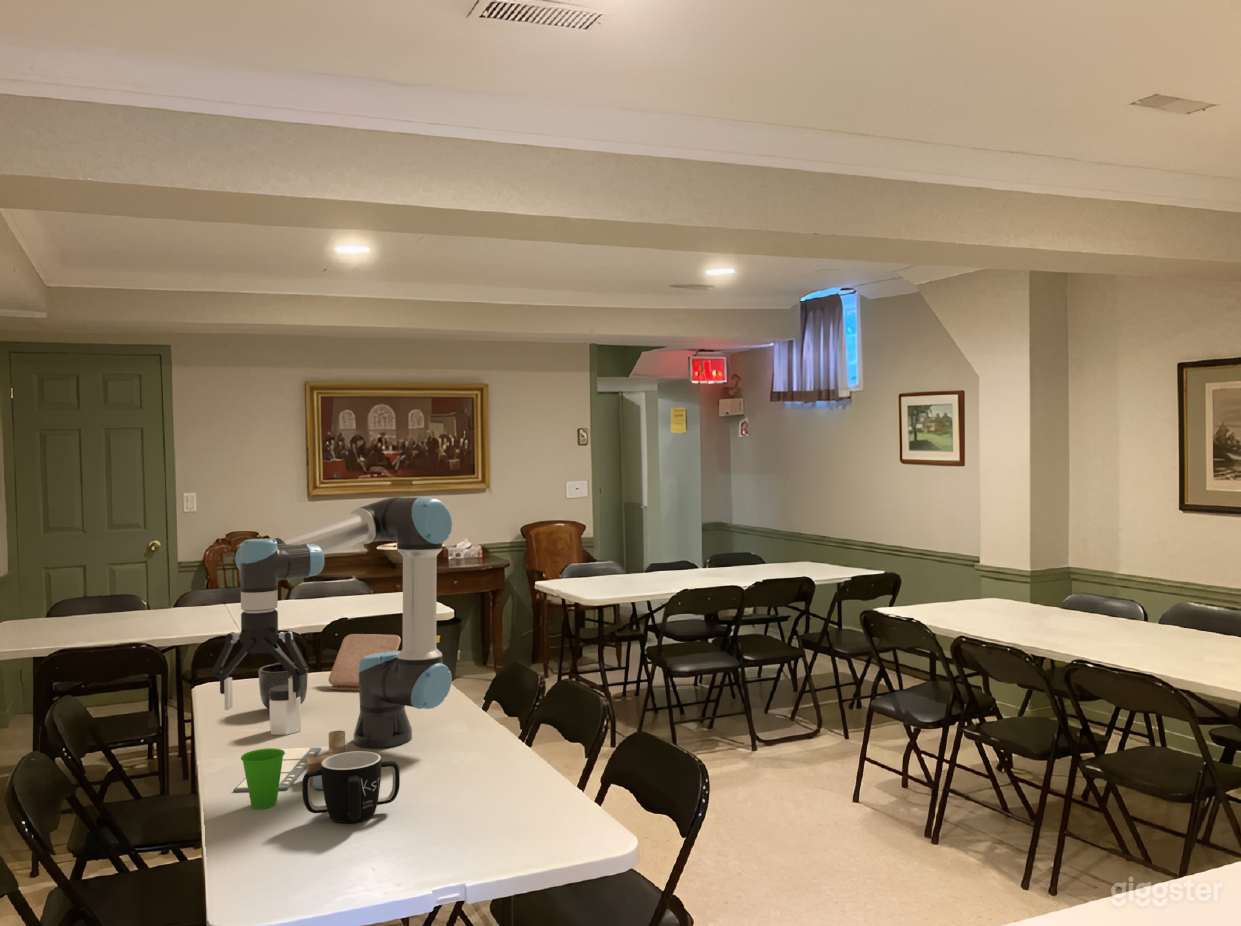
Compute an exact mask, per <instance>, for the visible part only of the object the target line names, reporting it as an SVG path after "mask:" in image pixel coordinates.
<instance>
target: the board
mask: <svg viewBox="0 0 1241 926" xmlns="http://www.w3.org/2000/svg"><path fill="white" fill-rule="evenodd" d="M280 749H281V750H283V751H284V752H285V755H283V760H282V768H281V775H280V782H279V789H278V791H288V790H289V789H290V788H291V786H292V785H293V784H294V783H295V782H296V781H297V780H298V778H299V777H300V776H301V775H302V773H303V772H304V771H305V770H307V765H306V758H310V757H318V755H319V753H320V752H321V751H322V747H297V748H296V747H295V748H294V747H293V748H291V747H290V748H280ZM233 792H234V793H245V792H246V793H247V792H248V793H249V791H248V786H247V780H246V777H245V778H244V779H243V780H241V782H239V784H238V785H236V786H235V788H234V789H233Z"/></svg>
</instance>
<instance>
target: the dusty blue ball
mask: <svg viewBox="0 0 1241 926" xmlns="http://www.w3.org/2000/svg"><path fill="white" fill-rule="evenodd" d="M312 786H314V788H316V789H317V790H323V787H322V776H316V777H314V778H313V785H312Z"/></svg>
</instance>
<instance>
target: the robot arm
mask: <svg viewBox="0 0 1241 926" xmlns="http://www.w3.org/2000/svg"><path fill="white" fill-rule="evenodd" d="M452 519H453V518H452V514H451V512H450V510H449V508H448V507H447V506H446V505H445V504H444V502H443V501H441V500H439V499H437V498H434V497H433V498H431V497H425V496H422V497H400V496H399V497H398V496H397V497H390V498H385V499H381V500H378V501H375V502H372V503H369V504H366V505H363V506H361V507H357V508H355V509H353V510H352V511H351V512H350V514H348V515H344V516H341V517H338V518H335V519H331V520H330V521H326V522H322V523H319V524H316V525H313V526H309V527H305V528H303V529H300V530H297V531H296V530H295V532H291V533H288V534H284V535H281V536H277V537H275V538H253V539H252V538H251V539H246V540H244V541H243V542H241V545H240V546H239V548H238V549H237V551H236V553H235V559H234V560H235V564H236V567H237V569H238V570H239V571H240V609H241V610H242V611H243V612H241V613H240V620H241V621H240V633H235V632H234V631H231V632H229V633H227V634H226V636H225V639H224V640H225V641H224V646H223V647H222V649H221V651H220V654H219V656H218V657H217V660H216V661H215V663H214V666H213V667H212V670H211V672H210V676H211V677H215V678H216V679H219V693H220V694H221V695H223V696H224V711H229V710H230V709H232V708H233V677H232V676H230V675H231V674H232V673H233V671H234V670H235V669H236V668H237V666H238V665H239V664H240V662H241V661H242V660H243V659H244V658H245V656H246V655H247V654H248V653H250V654H251V655H255V654H264V655H266V654H268V653H269V654H270V655H271V656H273V657H274V658H275V659H276V661H278V662H279V663H281V664H282V666H283V667H284V668H285V669H286V670H287V671H288V672H289V673H290V675H291V677H290V678H289V709H292V708H294V707H295V706H296V692H298V691H299V690H300V676H301V675H304V674H306V673H307V672H309V671H310V668H309V665H307V663H306V660H305V658H304V657H303V655H302V653H301V651H300V649H299V648H298V645H297V644H296V641H295V635H294V632H293V631H292V630H288V631H287V632H279V612H278V611H279V610H277V608H278V604H279V603H278V601H279V598H278V595H279V594H278V591H279V590H278V589H279V588H278V586H279V585H278V583H279V581H283V580H291V579H301V578H306V579H307V578H309V577H316V576H318V575H319V574H320V573H322V571H323V569H324V566H325V555H327V554H329V553H333V552H335V551H338V550H342V549H344V548H347V547H350V546H353V545H356V544H359V543H360V544H362V545H368V544H370V543H375V542H385V541H386V542H387V541H388V542H389V541H390V542H396V551H397V552H398V553H399V554H400V555H401V556H402V649H401V650H397V651H390V652H382V653H376V654H372V655H368V656H365V657H363V658H362V659H361V660H360V663H359V672H358V673H359V691H358V693H359V694H358V695H359V714H358V719H357V721H356V725H355V728H354V732H353V743H354V744H355V745H356V746H357V747H361V748H369V749H373V748H374V749H375V748H376V749H377V748H378V749H379V748H390V747H395V746H396V747H397V746H399V745H402V744H405V743H407V742H409V741H411V739H413V729H412V728H413V727H412V725H411V722H410V720H409V717H408V715H407V712H406V707H410V708H415V709H419V710H423V709H424V710H430V709H434V708H436V707H439V706H440V705H441V704H442V703H443V702H444V701H445V699H446V698H447V696H448V695H449V693H450V690H451V687H452V682H453V681H452V680H453V679H452V678H453V677H452V672H451V670H450V669H449V667H448V666H447V665H445V663H443V653H442V652H441V651H440V649H438V648H437V566H438V565H437V563H438V561H437V556H438V555H439V554H440V553H441V552H442V550H443V546H444V545H443V543H444V542H446V541H448V539H449V537H450V534H451V533H452V530H453V520H452ZM280 639H281V641H282V642H283V643H284V644H285V646H286V648H287V650H288V652H289V654H290V656H291V658H292V659H293V661H294V663H296V665H297V667H298V668H297V667H296V666H295V665H294V664H293V663H292V662H293V661H292V660H291V659H290V658H289V657H288V656H287V655H286V654H285V652H284V651H283V650H282V648H281V647H280V646H279V645H278V642H279V640H280ZM238 640H239V642H240V643H241V644H242V647H241V648H240V650H239V651H238V653H237V654H236V655H235V656H234V658H232V659H231V661H230V662H229V663H228V665H227V666H226V667H225V668H224V670H222V669H223V667H224V665H225V664H226V662H227V659H228V657H229V656H230V653H231V651H232V650H233V647H234V645H235V644H236V643H238ZM229 676H230V677H229ZM405 706H406V707H405Z"/></svg>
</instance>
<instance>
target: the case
mask: <svg viewBox="0 0 1241 926" xmlns="http://www.w3.org/2000/svg"><path fill="white" fill-rule="evenodd" d="M401 641H402V640H401V637H400V636H399V635H398V634H397V635H396V634H381V633H380V634H379V633H378V634H377V633H376V634H375V633H372V634H371V633H370V634H369V633H367V634H364V633H351V634H348V635H346V636H345V637H344V638H343V639H342V642H341V645H340V648H339V650H338V652H337V655H336V658H335V661H334V664H333V666H332V668H331V670H330V673H329V676H328V683H329V684H330V685H331V686H330V688H329V689H330V690H332V691H348V692H349V691H352V692H353V691H357V692H359V673H358V672H359V663H360V660H361V659H362V658H363V657H365V656H368V655H372V654H376V653H382V652H390V651H399V647H400V644H401Z"/></svg>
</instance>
